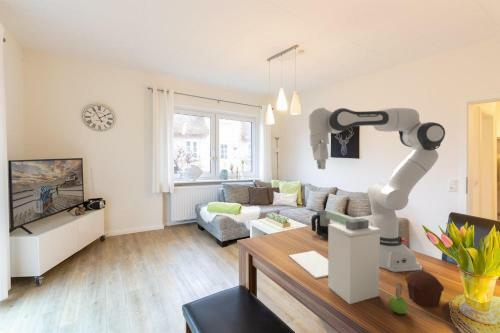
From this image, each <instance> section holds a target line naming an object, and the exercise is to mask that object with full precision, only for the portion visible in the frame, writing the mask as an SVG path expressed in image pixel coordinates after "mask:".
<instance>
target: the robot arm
mask: <svg viewBox="0 0 500 333" xmlns="http://www.w3.org/2000/svg"><path fill="white" fill-rule="evenodd" d="M364 126H367V127H369V126H370V127H373V128H374V129H375V130H376V131H378V132H388V133H389V132H398V134H399V141H400V142H401V144H403V146H405V147H407V148H411V151H410V152H409V154H408V155H407V156H406V157H405V158H404V159H403V160H401V162H400V163H399V164H398V165H397V166H396V167H395V168H394V169H393V171H392V174H391V177H390V178H389V180H388V182H386V183H383V182H377V183H376V182H375V183H373V184H371V185H370V186H368V188H367V190H366V191H367V192H366V193H367V194H366V195H367V197H368V200H369V204H370V211H371V215H372V216H371V219H372V226H373V227H376V228H379V229H380V259H379V268H382V269H386V270H388V271H391V272H393V273H397V272H398V273H399V272H409V271H410V272H415V271H423V266H422V264H421V263H420V262H419V261H418V260H417V257H416V255H415V253H414V252H413V250H411V249H410V248H409V247H407V246H406V245H405V244H406V243H407V242H408V240H407V239H406V238H405V237H401V235H399V218H398V217H397V214H396V211H401V210H404V209H405V208H406V207H407V205H408V204H409V197H410V196H409V195H410V193H411V192H412V190H413V188H414V187H415V186H416V185H417V184H418V183H419V181H420V180H421V179H423V177H425V175H427V174H428V172H429V171H430V170H431V169H432V167H433V166H434V165H435V164H436V162H437V161H438V159H439V153H438V151H437V149H439V148H440V147H441V143H442V142H443V141H444V139H445V138H446V137H445V136H446V130H445V127H444V126H443V125H442V124H440V123H437V122H433V121H431V122H430V121H429V122H421V120H420V113H419V112H418V111H417V110H416V109H414V108H409V107H408V108H407V107H391V108H390V107H389V108H382V109H378V110H371V111H354V110H352V109H348V108H344V107H342V108H341V107H340V108H337V109H335V110H334V111H331V110H328V109H326V108H325V107H317V108H314V109H312V110H311V111H310V113H308V128H309V131H310V132H309V140H310V141H309V142H310V143H309V144H310V147H311V149H312V156H313V159H314V161H316V164H317V169H318V170H326V165H327V164H326V163H327V160H329V148H328V145H329V144H330V140H329V139H330V138H329V137H330V136H329V134H340V133H341V132H344V131H347V130H349V129H351V128H353V127H364Z"/></svg>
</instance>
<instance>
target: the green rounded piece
mask: <svg viewBox="0 0 500 333" xmlns="http://www.w3.org/2000/svg"><path fill="white" fill-rule="evenodd" d="M395 286H396V287H395V295H392V296H391V297H390V298H389V300H388V304H389V308H390V309H391V310H392V312H394V313H396V314H397V315H404V314H406V313H407V312H408V309H409V306H408V303H407V301H406V299H405V298H404V297H402V292H403V291H402V290H403V285H402V283H401V282H400V281H397V282H396V284H395Z"/></svg>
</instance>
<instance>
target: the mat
mask: <svg viewBox="0 0 500 333" xmlns="http://www.w3.org/2000/svg"><path fill="white" fill-rule="evenodd" d="M288 257H289V258H290V259H291V260H292V261H294V262H295V263H296V264H297V265H299V266H300V267H301V268H302V269H303V270H305V271H306V272H307V273H308V274H309V275H311V276H312V277H313V278H315V280H316V279H321V278H324V277H325V278H326V277H328V258H327V257H324V256H323V255H321V254H320V253H319V252H317V251H316V250H310V251H304V252H299V253H293V254H288Z"/></svg>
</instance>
